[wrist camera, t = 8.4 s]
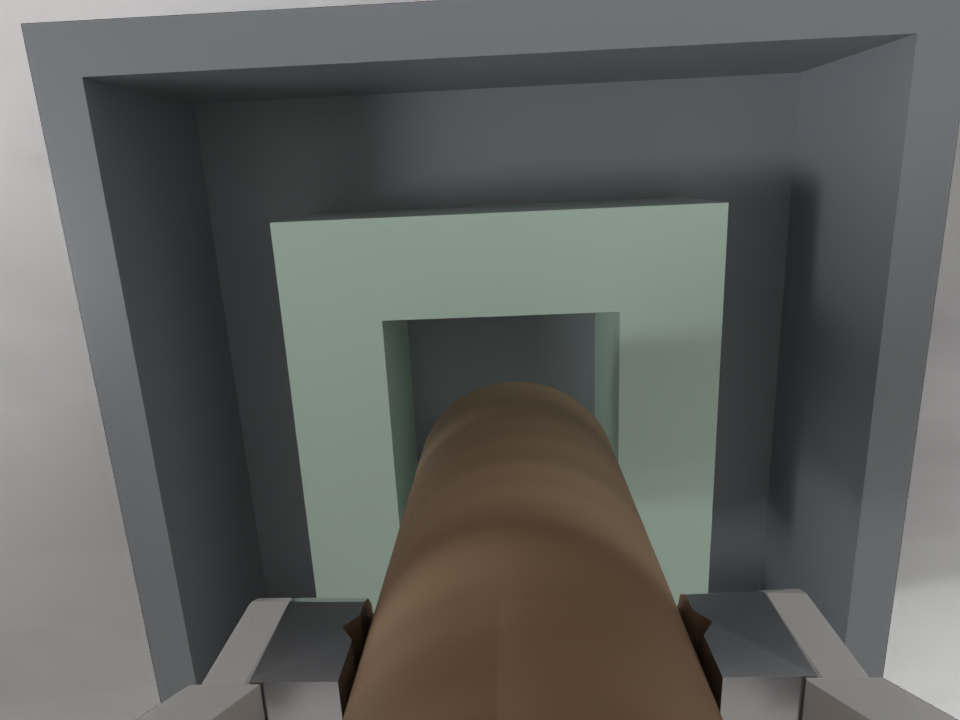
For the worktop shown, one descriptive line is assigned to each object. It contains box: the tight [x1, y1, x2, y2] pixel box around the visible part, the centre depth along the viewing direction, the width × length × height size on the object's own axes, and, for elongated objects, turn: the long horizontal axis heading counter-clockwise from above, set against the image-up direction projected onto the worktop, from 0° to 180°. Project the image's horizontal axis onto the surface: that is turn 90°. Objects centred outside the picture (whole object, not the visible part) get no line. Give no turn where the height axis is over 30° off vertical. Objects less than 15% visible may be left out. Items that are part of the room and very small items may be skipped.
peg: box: [343, 382, 723, 720], centre depth 8 cm, size 4×4×12 cm
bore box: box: [21, 0, 960, 703], centre depth 18 cm, size 18×18×6 cm
